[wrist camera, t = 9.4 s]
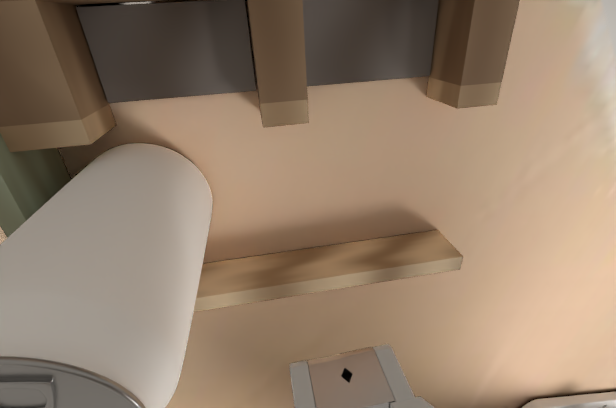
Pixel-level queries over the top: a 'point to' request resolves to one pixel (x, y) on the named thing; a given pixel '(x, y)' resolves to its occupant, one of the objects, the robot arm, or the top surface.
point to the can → (105, 284)
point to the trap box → (227, 79)
